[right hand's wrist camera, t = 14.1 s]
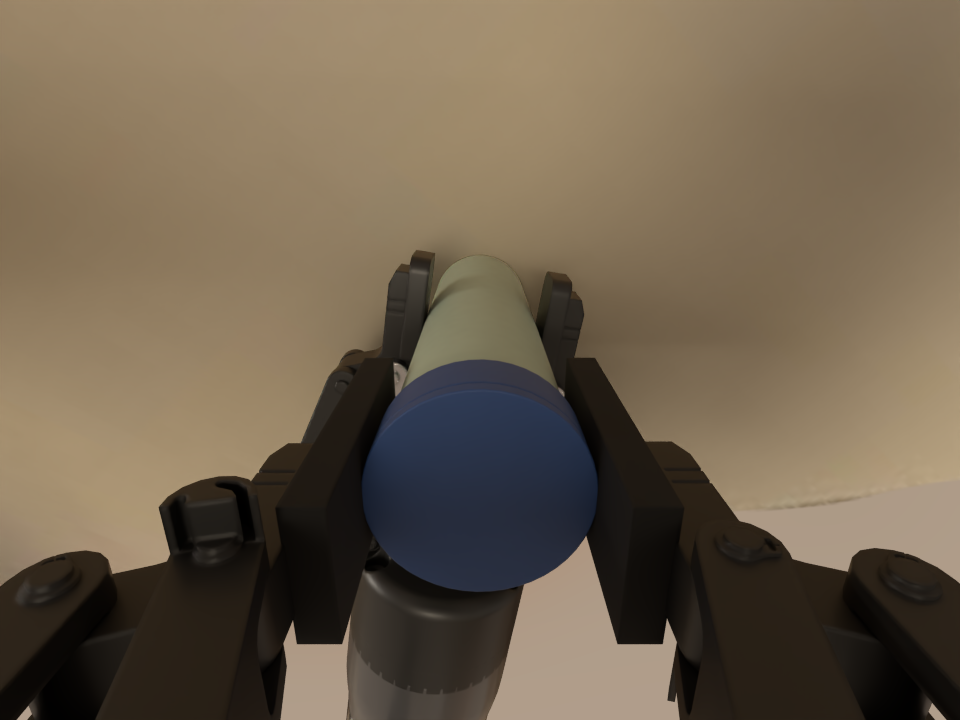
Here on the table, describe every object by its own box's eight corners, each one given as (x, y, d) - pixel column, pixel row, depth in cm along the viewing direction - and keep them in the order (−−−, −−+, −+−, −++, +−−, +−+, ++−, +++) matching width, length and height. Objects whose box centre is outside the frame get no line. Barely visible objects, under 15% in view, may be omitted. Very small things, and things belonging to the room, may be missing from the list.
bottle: (418, 296, 26) (330, 481, 11) (481, 235, 25) (485, 344, 10) (478, 356, 27) (475, 602, 12) (541, 300, 26) (628, 490, 11)
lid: (333, 451, 12) (310, 494, 10) (484, 313, 11) (486, 338, 9) (475, 572, 13) (475, 627, 11) (625, 459, 12) (647, 503, 10)
